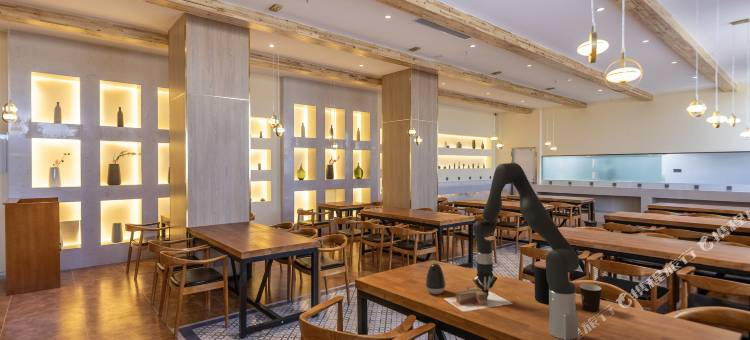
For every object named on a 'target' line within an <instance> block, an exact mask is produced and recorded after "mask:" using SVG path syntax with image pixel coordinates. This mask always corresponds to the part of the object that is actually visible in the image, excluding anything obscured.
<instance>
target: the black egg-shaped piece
mask: <svg viewBox="0 0 750 340" xmlns="http://www.w3.org/2000/svg"><path fill="white" fill-rule="evenodd" d="M425 287H426V289H427V292H429V293H430V294H432V295H441V294H442V293H444V291H445V289H446V279H445V275H444V271H443V269H442V267H441V266H440V264H438V263H432V264H430V265H429V267H428V269H427V273H426V278H425Z"/></svg>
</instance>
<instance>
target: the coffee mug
mask: <svg viewBox="0 0 750 340" xmlns="http://www.w3.org/2000/svg"><path fill="white" fill-rule="evenodd" d="M579 290H580V298H581V306H582V309H583V310H584V311H585V312H588V313H589V312H590V313H598V312H599V311H600V305H601V298H602V297H601V296H602V290H603V289H602V287H601V286H598V285H596V284H590V283H589V284H587V283H585V284H584V283H583V284H580V285H579Z"/></svg>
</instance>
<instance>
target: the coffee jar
mask: <svg viewBox="0 0 750 340" xmlns="http://www.w3.org/2000/svg"><path fill="white" fill-rule="evenodd" d="M533 270H534V300H535V301H537V302H538V303H540V304H544V305H548V306H549V284H548V282H547V277H546V260H545V261H544V260H542V261H541V260H540V261H535V262H534V269H533Z"/></svg>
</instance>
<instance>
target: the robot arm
mask: <svg viewBox="0 0 750 340" xmlns="http://www.w3.org/2000/svg"><path fill="white" fill-rule="evenodd" d="M507 185H513V187H514V188H515V189H516V191H517V193H518V195H519V208H520V213H521V215H522V217H523V219H524V221H525V222H526V224H527V225H528V227H529V228H530V229H531V230H533V231H534V232H535V233H536V234H537V235H538V236H540V237H541V238H543V240H545V241H546V243H548V245H549V246H550V248H551V250H550V251H549V252H548V253H547V254H546V258H545V261H546V277H547V282H548V284H549V305H548V307H549V308H548V312H549V313H548V315H549V316H548V317H549V321H548V325H549V334H550V335H551V336H553V337H554V338H557V339H561V340H574V339H578V338H579V313H578V312H576V284H575V283H573V282H572V281H570V279H569V273H571V272H574V271H577V270H578V268H579V267H580V264H581V263H580V259H579V256H578V254H577V252H576V250H575V249H574V248H573V247H572V245H571V244H570V243H569V241H568V240H567V239H566V238H565V237H564V235H563V234H562V232H561V231H560V229H559V228H558V226H557V225H556V224H555V222H554V220H553V219H552V217H551V216H550V214H549V212H548V211H547V208H545V206H544V205H543V203H542V201H541V200H540V198H539V197H538V195H537V194H536V192H535V190H534V188H533V187H532V185H531V183H530V181H529V179H528V177H527V175H526V172H525V171H524V169H523V168H522V167H521V165H520V164H519V163H518V162H517V163H516V162H509V163H508V162H506V163H500V164H498V165H497V166H496V167H495V170H494V172H493V175H492V181H491V185H490V190H489V196H488V198H487V201H486V204H485V205H484V208H483V210H482V213H481V216H482V218H483V219H484V220H476V221H475V222H474V223H473V226H472V231H473V235H474V238H475V243H476V272H477V273H476V277H474V278H472V282H473V283H474V284H475V285H476V286H477V287H476V288H478V289H480V290H481V291H483V292H485V293H487V297H488V295H489V294H488V293H489V292H490V291H489V290H490V289H492V288H493V287H494V286H495V283H496V281H497V280H498V277H497V276H496V275H494V272H493V271H494V267H493V266H494V258H493V243H492V240H490V239H487V238H486V237H485V236H487V235H491V234H494V233H495V231H496V229H497V221H498V217H499V214H500V212H501V210H502V206H503V201H502V192H503V190H504V188H505V186H507Z"/></svg>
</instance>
